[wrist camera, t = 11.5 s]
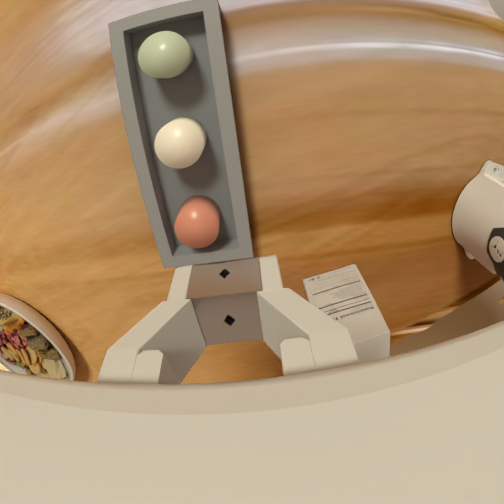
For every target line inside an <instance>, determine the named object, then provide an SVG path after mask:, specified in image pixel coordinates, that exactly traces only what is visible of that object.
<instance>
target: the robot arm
mask: <svg viewBox="0 0 504 504" xmlns="http://www.w3.org/2000/svg"><path fill="white" fill-rule="evenodd" d="M452 230H453V235H454V237H455V239H456V241H457V242H458V243H459V244H460V245H461V246H462V247H463V248H464V250H465V254H466V256H467V257H468V258H469V259H474V258H475V259H476V260H478V261H479V262H480V263H481V264H482V265H483V266H484V267H486V268H487V269H488V270H489V271H490V272H491V273H493V274H496V273H497V274H498V275H499V276H500V278H501V279H502V281H503V282H504V166H503V165H501V164H498V163H496V162H493V161H490V160H488V161H487V162H486V163H485V164H484V166H483V167H482V169H481V171H480V173H479V174H478V175H477V176H476V177H475V178H474V179H473V180H471V181H470V182H469V183H468V184H467V186H466V187H465V188H464V190H463V191H462V193H461V194H460V196H459V198H458V200H457V203H456V205H455V209H454V212H453V218H452ZM259 262H260V263H259ZM260 270H261V271H260ZM254 340H264V342H265V343H266V344H267V345H268V346H269V347H270V348H271V349H272V351H273V352H274V353H275V354H276V355H277V356H278V357H279V358H280V359H281V363H282V376H281V377H273V378H264V379H255V380H244V381H232V382H218V383H198V384H180V383H181V382H182V380H183V379H184V378H185V376H186V375H187V373H188V372H189V371H190V369H191V368H192V366H193V365H194V364H195V362H196V361H197V359H198V358H199V357H200V355H201V354H202V353H203V351H204V350H205V348H206V347H207V346H206V345H212V344H222V343H230V342H241V341H254ZM0 504H504V320H503V321H501V322H498V323H496V324H493V325H490V326H488V327H485V328H482V329H480V330H477V331H474V332H471V333H468V334H466V335H463V336H460V337H457V338H454V339H450V340H447V341H444V342H441V343H438V344H434V345H431V346H428V347H424V348H421V349H417V350H414V351H410V352H406V353H402V354H398V355H394V356H390V357H386V358H382V359H378V360H373V361H369V362H364V363H359V360H358V357H357V354H356V351H355V348H354V346H353V343H352V340H351V337H350V334H349V332H348V329H347V328H346V327H344V326H343V325H341V324H340V323H338V322H337V321H336V320H334V319H333V318H331V317H330V316H328V315H327V314H325V313H324V312H323V311H321V310H320V309H318V308H317V307H315V306H314V305H312V304H311V303H310V302H308V301H307V300H305V299H304V298H302V297H301V296H299V295H298V294H297V293H295V292H294V291H292V290H291V289H289V288H283V284H282V279H281V274H280V269H279V264H278V259H277V256H276V255H270V256H264V257H258V258H251V259H244V260H238V261H231V262H218V263H208V264H197V265H188V266H180V267H177V268H176V269H175V273H174V276H173V280H172V284H171V287H170V291H169V295H168V299H167V301H163V302H161V303H160V304H159V305H158V306H157V307H155V308H154V309H153V310H152V311H151V312H150V313H149V314H147V315H146V316H145V317H144V318H143V319H142V320H141V321H139V322H138V323H137V324H136V325H135V326H134V327H133V328H132V329H130V330H129V331H128V332H127V333H126V334H125V335H124V336H122V337H121V338H120V339H119V340H118V341H117V342H116V343H115V344H113V345H112V346H111V347H110V348H109V349H108V350H107V353H106V356H105V359H104V362H103V365H102V368H101V371H100V374H99V377H98V380H97V382H84V381H73V380H64V379H55V378H47V377H39V376H33V375H26V374H20V373H14V372H9V371H3V370H0Z"/></svg>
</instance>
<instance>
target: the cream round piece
mask: <svg viewBox="0 0 504 504" xmlns="http://www.w3.org/2000/svg"><path fill="white" fill-rule="evenodd" d="M206 142H207V133H206V130H205V128H204V126H203V125H202V123H201V122H199V121H198V120H197V119H195V118H192V117H187V116H183V117H178V118H176V119H174V120H172V121H171V122H169V123H168V124H166V125H165V126H163V127H162V128H161V129H160V130H159V132H158V133H157V135H156V138H155V143H154V147H155V152H156V155H157V156H158V158H159V159H160V161H161V162H162V163H164V164H165V165H167V166H169V167H171V168H176V169H181V168H186V167H189V166H191V165H192V164H194V163H195V162H196V161H197V160H198V159H199V157H200V156H201V154H202V151H203V149H204V147H205V145H206Z"/></svg>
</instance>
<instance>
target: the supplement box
mask: <svg viewBox="0 0 504 504" xmlns="http://www.w3.org/2000/svg"><path fill="white" fill-rule="evenodd" d="M303 284H304V288H305V292H306V296H307V300H308V302H310V303H311V304H312V305H314V306H315V307H317V308H318V309H320V310H321V311H323V312H324V313H325V314H327V315H328V316H330V317H331V318H333V319H334V320H336V321H337V322H338V323H340V324H341V325H343V326H344V327H346V328H347V329H348V332H349V334H350V337H351V340H352V343H353V346H354V348H355V351H356V354H357V357H358V360H359V363H364V362H369V361H373V360H378V359H382V358H386V357H389V352H390V330H389V328H388V326H387V324H386V322H385V320H384V318H383V316H382V314H381V312H380V310H379V308H378V306H377V304H376V302H375V300H374V298H373V296H372V294H371V292H370V290H369V289H368V287H367V285H366V283H365V281H364V279H363V277H362V275H361V274H360V272H359V270H358V268H357V266H356V265H355V264H352V265H349V266H346V267H343V268H339V269H336V270H333V271H330V272H326V273H323V274H320V275H317V276H313V277H310V278H307V279H304V280H303Z"/></svg>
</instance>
